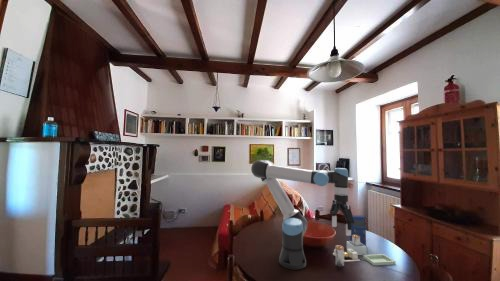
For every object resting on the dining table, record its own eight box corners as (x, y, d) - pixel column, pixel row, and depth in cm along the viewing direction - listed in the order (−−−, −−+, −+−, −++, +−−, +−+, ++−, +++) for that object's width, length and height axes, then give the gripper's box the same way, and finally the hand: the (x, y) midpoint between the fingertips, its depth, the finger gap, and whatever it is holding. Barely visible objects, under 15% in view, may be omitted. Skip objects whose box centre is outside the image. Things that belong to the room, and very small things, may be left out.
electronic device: (352, 247, 139) (352, 216, 141) (349, 243, 144) (348, 214, 146) (366, 247, 139) (366, 217, 140) (362, 244, 144) (362, 215, 145)
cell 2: (355, 253, 128) (354, 236, 129) (351, 250, 133) (350, 233, 133) (361, 253, 129) (361, 236, 130) (357, 250, 133) (357, 233, 134)
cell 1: (338, 267, 113) (337, 247, 114) (334, 263, 117) (333, 244, 118) (345, 267, 114) (345, 247, 114) (341, 262, 118) (340, 243, 119)
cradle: (341, 262, 118) (341, 254, 118) (332, 254, 128) (332, 247, 128) (360, 262, 119) (359, 253, 120) (349, 254, 129) (349, 246, 129)
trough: (373, 266, 114) (373, 262, 115) (363, 258, 123) (363, 255, 123) (395, 265, 116) (395, 261, 116) (384, 257, 125) (383, 254, 125)
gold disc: (344, 257, 121) (344, 254, 122) (341, 254, 125) (341, 251, 125) (350, 257, 122) (350, 254, 122) (346, 254, 125) (346, 251, 126)
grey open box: (354, 256, 126) (354, 246, 127) (346, 250, 134) (346, 241, 135) (366, 255, 127) (366, 246, 127) (358, 249, 135) (358, 240, 136)
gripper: (361, 198, 110) (361, 239, 109) (334, 190, 135) (334, 223, 133) (348, 198, 109) (348, 239, 107) (324, 190, 133) (323, 223, 132)
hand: (340, 230), depth 120 cm, fingers open, 13 cm apart
